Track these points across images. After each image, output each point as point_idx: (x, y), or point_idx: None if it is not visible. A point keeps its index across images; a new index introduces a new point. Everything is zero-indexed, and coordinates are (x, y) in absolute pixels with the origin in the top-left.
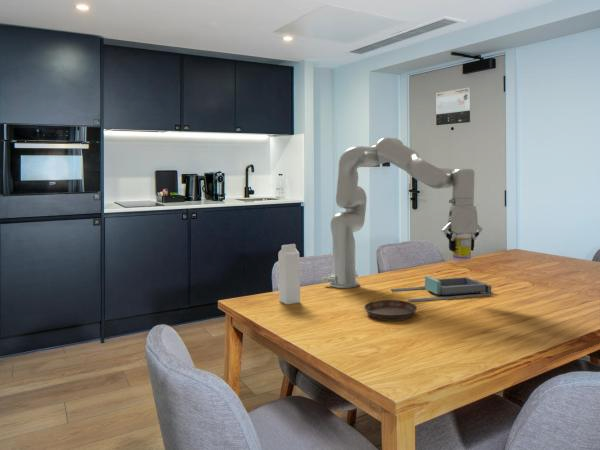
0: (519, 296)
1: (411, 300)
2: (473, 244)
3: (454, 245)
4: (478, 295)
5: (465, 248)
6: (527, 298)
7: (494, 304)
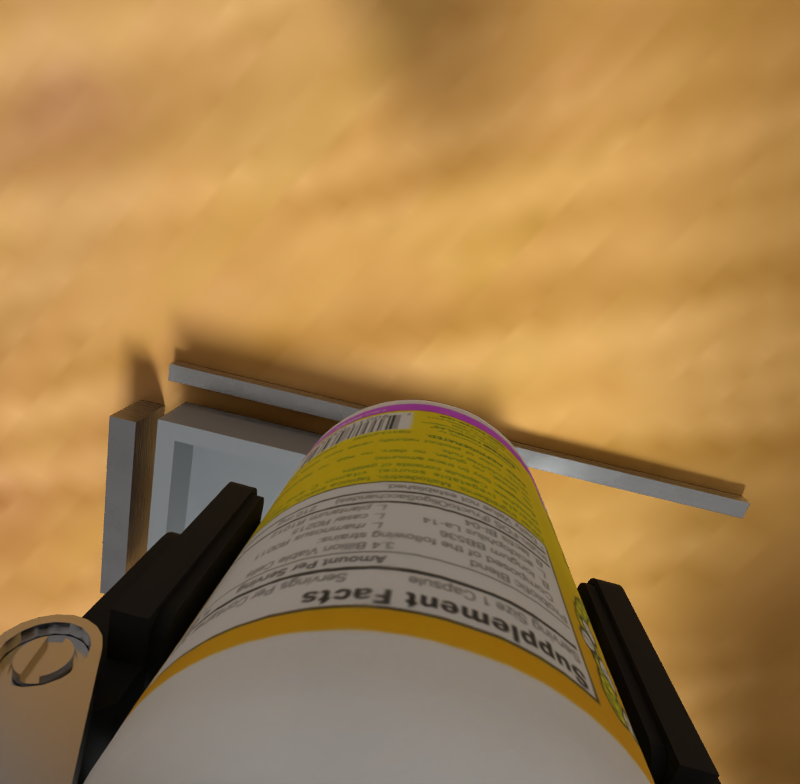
0: (24, 253)
1: (732, 497)
2: (183, 538)
3: (645, 662)
4: (263, 383)
5: (465, 479)
6: (7, 187)
7: (309, 179)
